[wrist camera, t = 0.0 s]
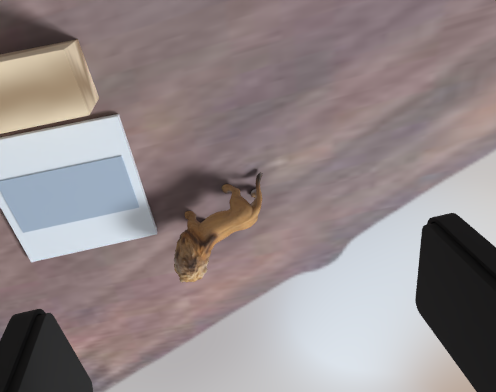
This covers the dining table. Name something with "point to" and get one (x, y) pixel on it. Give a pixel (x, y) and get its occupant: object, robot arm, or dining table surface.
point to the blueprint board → (72, 188)
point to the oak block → (44, 86)
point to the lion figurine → (213, 232)
